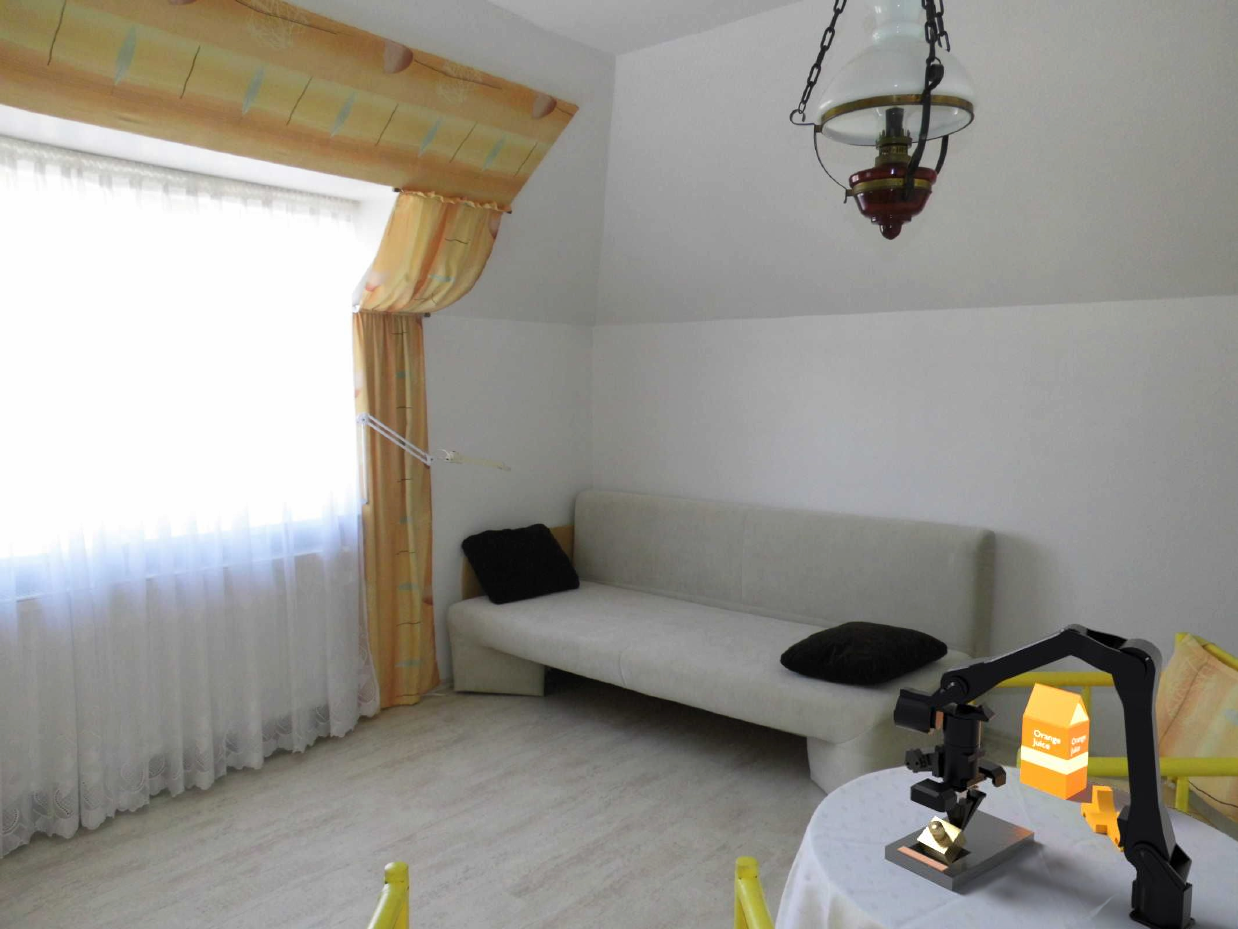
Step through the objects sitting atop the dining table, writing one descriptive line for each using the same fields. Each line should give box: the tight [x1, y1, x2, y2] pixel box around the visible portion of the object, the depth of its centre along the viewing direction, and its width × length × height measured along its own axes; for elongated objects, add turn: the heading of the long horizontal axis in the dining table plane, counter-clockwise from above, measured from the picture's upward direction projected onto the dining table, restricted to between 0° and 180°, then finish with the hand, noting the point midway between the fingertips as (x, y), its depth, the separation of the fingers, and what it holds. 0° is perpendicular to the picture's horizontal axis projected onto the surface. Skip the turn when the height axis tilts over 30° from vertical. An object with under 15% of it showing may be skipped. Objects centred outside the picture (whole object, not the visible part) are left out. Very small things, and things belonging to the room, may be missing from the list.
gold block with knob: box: [918, 816, 967, 866], centre depth 145 cm, size 5×5×5 cm
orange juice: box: [1019, 682, 1091, 801], centre depth 169 cm, size 8×9×20 cm
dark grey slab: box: [884, 809, 1035, 892], centre depth 148 cm, size 12×24×2 cm, turn 128°
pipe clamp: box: [1080, 785, 1124, 852], centre depth 153 cm, size 12×4×6 cm, turn 173°
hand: (957, 834), depth 147 cm, fingers closed
